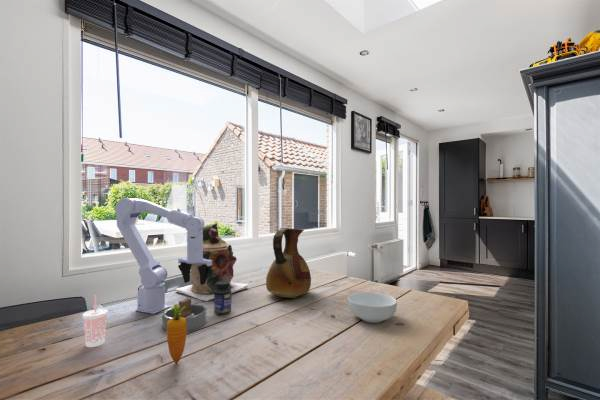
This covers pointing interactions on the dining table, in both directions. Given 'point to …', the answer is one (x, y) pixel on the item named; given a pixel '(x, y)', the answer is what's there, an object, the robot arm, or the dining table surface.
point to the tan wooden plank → (187, 304)
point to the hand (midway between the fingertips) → (194, 283)
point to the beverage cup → (95, 326)
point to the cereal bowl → (372, 306)
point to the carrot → (176, 333)
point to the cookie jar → (213, 267)
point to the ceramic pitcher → (288, 266)
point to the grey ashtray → (188, 317)
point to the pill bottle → (222, 298)
